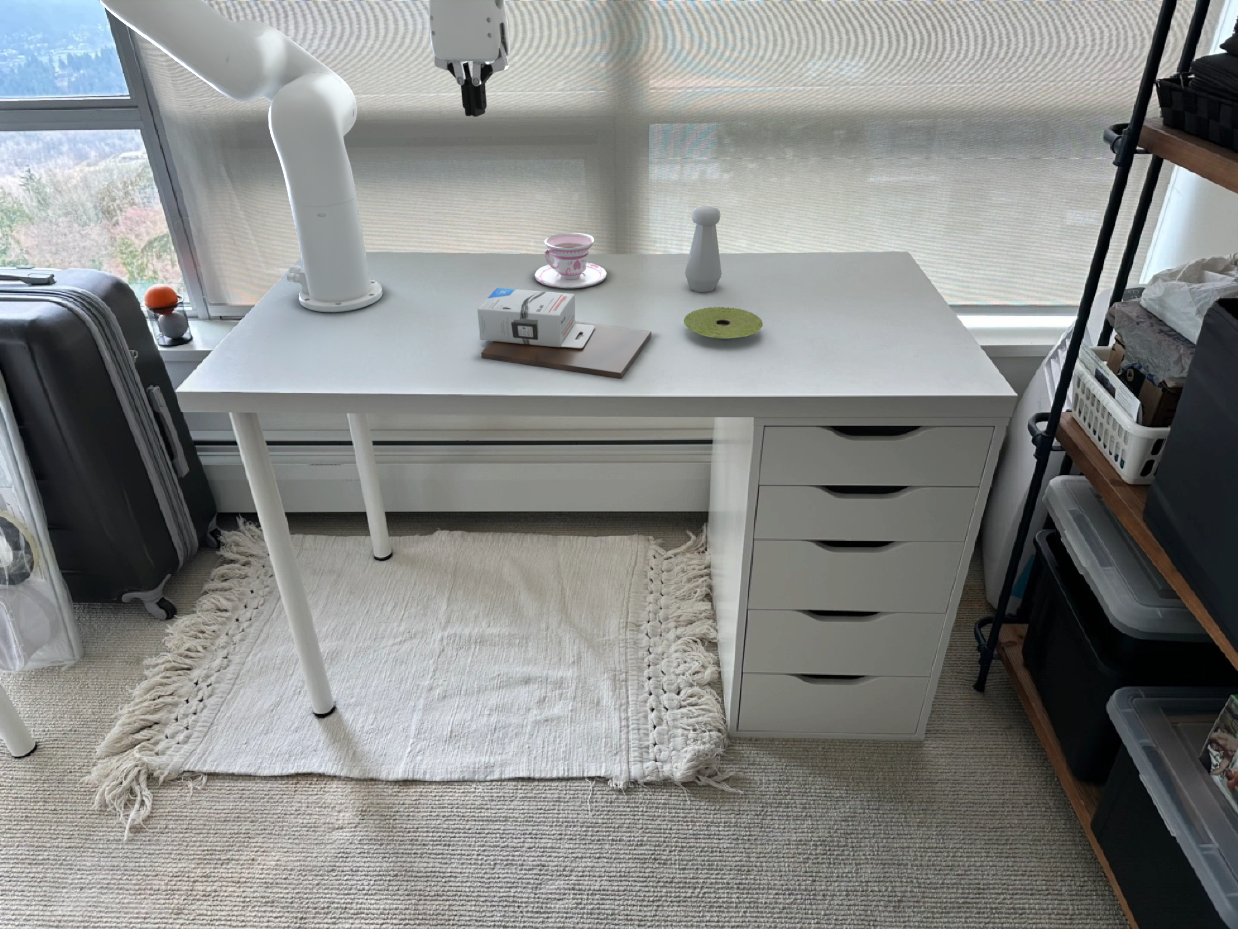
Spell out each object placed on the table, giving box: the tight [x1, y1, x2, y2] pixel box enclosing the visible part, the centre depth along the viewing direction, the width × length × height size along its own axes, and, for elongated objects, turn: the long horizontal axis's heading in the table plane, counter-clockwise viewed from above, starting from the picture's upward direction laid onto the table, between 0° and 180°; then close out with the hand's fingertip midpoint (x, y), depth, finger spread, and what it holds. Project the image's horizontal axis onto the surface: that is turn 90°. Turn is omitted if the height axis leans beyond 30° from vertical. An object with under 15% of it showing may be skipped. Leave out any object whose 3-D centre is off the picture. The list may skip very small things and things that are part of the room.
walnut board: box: [480, 320, 652, 379], centre depth 119 cm, size 20×14×1 cm
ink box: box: [477, 287, 595, 349], centre depth 120 cm, size 9×5×15 cm
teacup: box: [534, 232, 607, 289], centre depth 141 cm, size 12×12×6 cm
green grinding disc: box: [683, 306, 764, 340], centre depth 123 cm, size 11×11×2 cm
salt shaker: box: [684, 204, 723, 293], centre depth 135 cm, size 6×6×13 cm
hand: (475, 114), depth 121 cm, fingers closed
